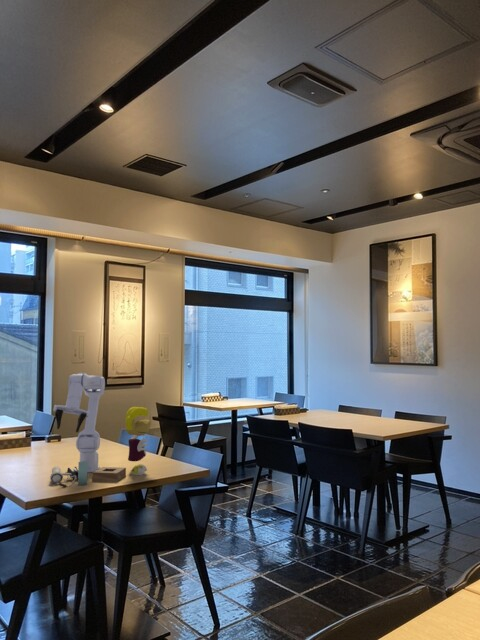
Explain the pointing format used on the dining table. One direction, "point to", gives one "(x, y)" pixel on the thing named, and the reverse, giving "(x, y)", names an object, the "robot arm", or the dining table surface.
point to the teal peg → (82, 473)
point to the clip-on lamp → (58, 476)
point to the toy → (136, 429)
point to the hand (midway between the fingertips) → (67, 429)
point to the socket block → (109, 474)
